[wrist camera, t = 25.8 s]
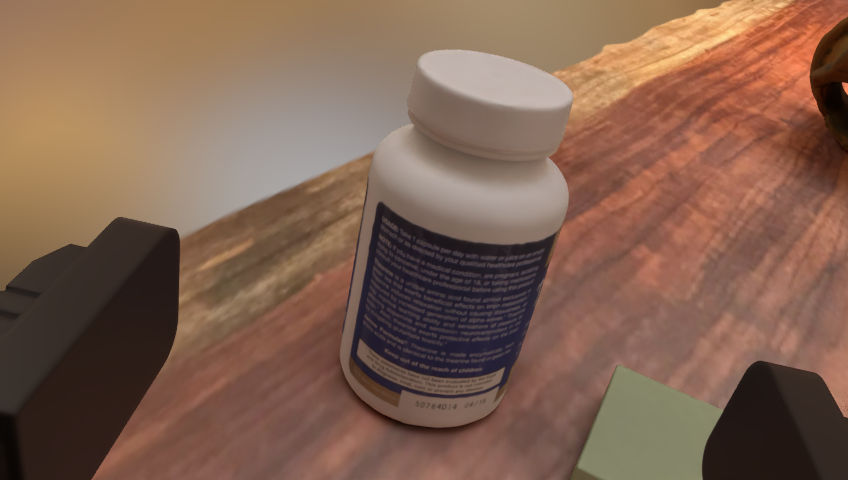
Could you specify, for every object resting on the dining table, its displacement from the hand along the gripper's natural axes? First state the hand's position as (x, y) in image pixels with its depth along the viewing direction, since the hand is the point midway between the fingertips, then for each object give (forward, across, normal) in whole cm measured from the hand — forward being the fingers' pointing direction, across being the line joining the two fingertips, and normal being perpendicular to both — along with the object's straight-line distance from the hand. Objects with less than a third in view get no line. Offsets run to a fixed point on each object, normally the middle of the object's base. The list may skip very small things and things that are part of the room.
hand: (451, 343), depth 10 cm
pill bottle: (+9, 0, +9) cm, 13 cm away
